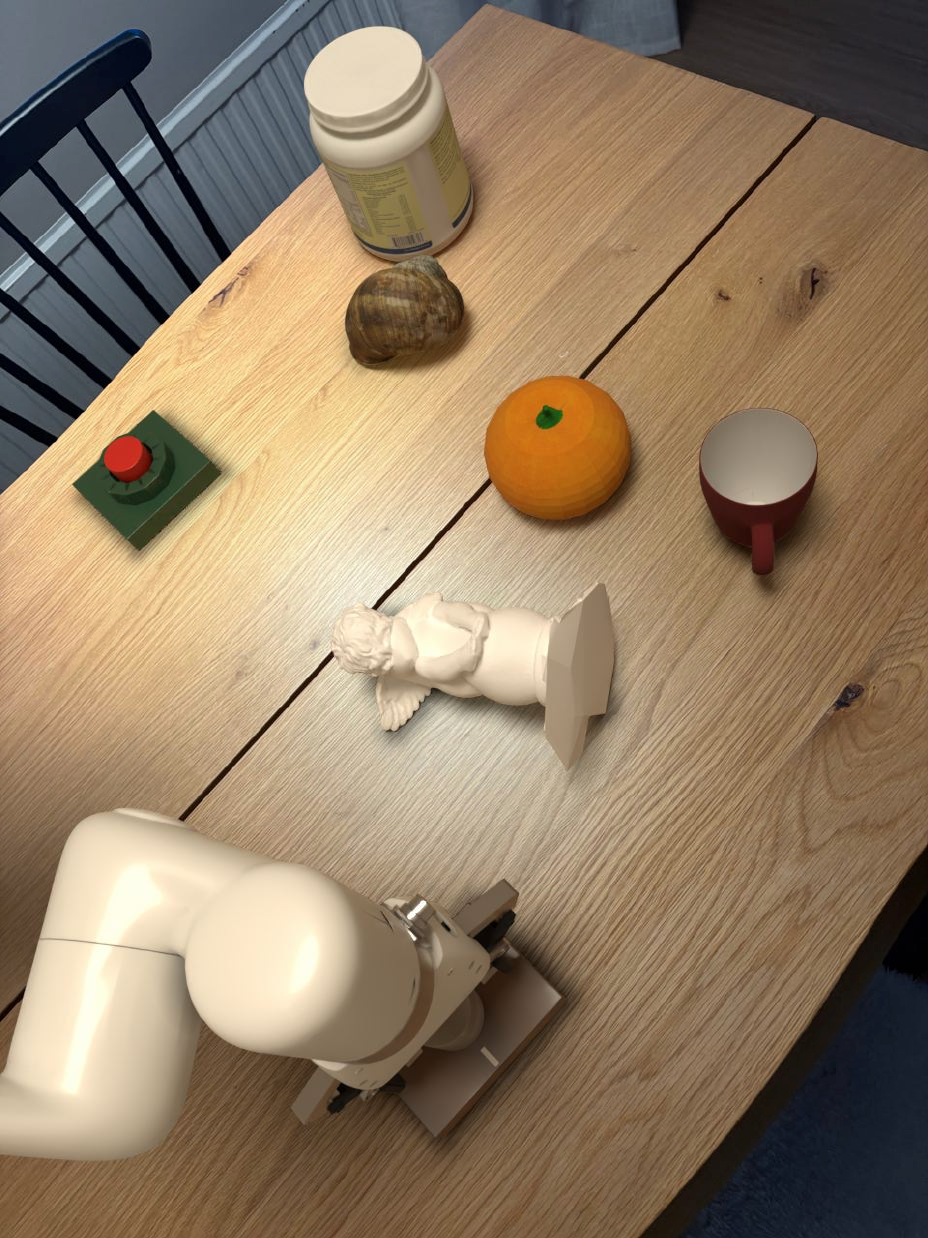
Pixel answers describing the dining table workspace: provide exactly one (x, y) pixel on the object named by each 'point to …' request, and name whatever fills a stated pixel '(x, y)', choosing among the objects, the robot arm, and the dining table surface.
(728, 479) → the mug
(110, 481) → the box
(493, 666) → the angel figurine
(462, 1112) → the dial panel
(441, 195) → the supplement tub
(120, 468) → the button
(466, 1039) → the dial
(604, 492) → the fruit
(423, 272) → the seashell
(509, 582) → the dining table surface
